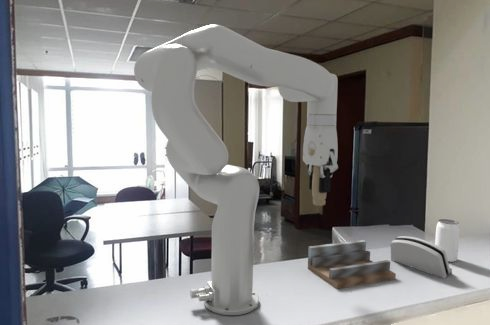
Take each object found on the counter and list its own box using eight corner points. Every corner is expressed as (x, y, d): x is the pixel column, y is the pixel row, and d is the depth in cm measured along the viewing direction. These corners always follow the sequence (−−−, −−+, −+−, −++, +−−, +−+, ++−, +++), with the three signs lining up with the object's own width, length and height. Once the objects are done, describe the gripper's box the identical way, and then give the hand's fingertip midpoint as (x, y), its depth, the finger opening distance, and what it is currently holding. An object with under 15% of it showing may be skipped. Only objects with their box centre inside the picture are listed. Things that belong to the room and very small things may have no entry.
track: (336, 288, 97) (337, 264, 97) (307, 268, 110) (308, 246, 109) (395, 278, 104) (397, 255, 104) (361, 260, 117) (363, 240, 117)
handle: (334, 206, 102) (336, 149, 100) (311, 207, 100) (312, 150, 99) (326, 202, 107) (328, 148, 105) (304, 203, 105) (305, 148, 103)
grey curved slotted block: (453, 274, 109) (450, 244, 105) (445, 283, 106) (441, 252, 103) (399, 256, 122) (395, 229, 119) (390, 264, 119) (386, 236, 116)
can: (461, 262, 117) (464, 224, 116) (439, 262, 118) (443, 224, 116) (450, 255, 124) (453, 219, 123) (430, 254, 124) (433, 218, 123)
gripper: (292, 121, 107) (291, 186, 109) (328, 122, 92) (325, 198, 94) (315, 121, 110) (314, 184, 112) (353, 122, 94) (350, 195, 97)
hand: (319, 190), depth 103 cm, fingers closed on handle, 3 cm apart
